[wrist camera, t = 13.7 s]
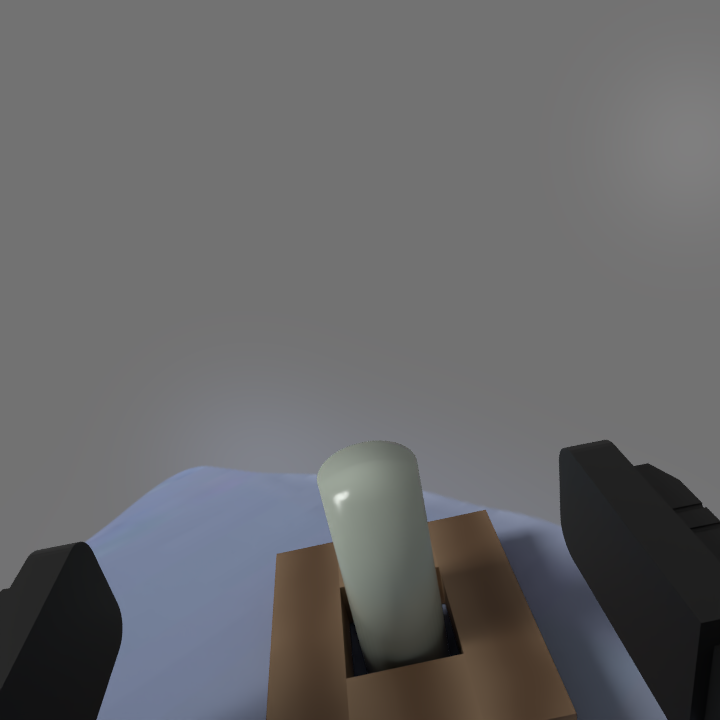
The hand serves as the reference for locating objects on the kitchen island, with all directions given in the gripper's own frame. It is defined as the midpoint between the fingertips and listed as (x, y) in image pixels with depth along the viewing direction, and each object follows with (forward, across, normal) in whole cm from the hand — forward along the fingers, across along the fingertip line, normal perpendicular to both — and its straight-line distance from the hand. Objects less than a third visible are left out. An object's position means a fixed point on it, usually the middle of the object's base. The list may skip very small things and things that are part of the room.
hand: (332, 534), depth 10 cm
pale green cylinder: (+15, -1, +22) cm, 27 cm away
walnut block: (+15, -1, +22) cm, 27 cm away
